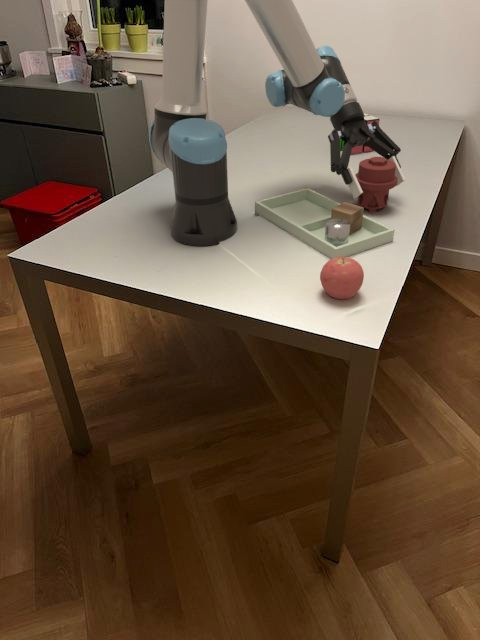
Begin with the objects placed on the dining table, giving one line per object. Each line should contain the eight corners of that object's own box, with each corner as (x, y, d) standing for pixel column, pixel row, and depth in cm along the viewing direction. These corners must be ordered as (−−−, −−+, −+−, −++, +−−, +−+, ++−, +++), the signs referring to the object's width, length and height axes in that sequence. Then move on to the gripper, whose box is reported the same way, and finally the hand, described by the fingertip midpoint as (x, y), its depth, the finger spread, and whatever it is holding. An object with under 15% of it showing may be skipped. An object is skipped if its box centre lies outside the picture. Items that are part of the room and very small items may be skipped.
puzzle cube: (376, 151, 160) (380, 118, 154) (349, 155, 157) (352, 122, 151) (358, 143, 168) (362, 111, 162) (333, 147, 165) (335, 115, 159)
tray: (334, 263, 100) (335, 249, 98) (254, 213, 121) (254, 201, 120) (392, 243, 107) (394, 229, 105) (307, 199, 128) (307, 187, 126)
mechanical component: (391, 202, 125) (393, 219, 117) (351, 200, 127) (350, 216, 119) (399, 153, 118) (401, 167, 110) (356, 151, 119) (355, 165, 112)
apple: (340, 312, 86) (344, 271, 82) (311, 294, 91) (313, 255, 86) (369, 297, 90) (375, 258, 85) (339, 281, 95) (343, 243, 90)
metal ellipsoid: (334, 253, 102) (336, 230, 100) (319, 244, 106) (320, 222, 103) (352, 247, 104) (355, 225, 102) (337, 238, 108) (339, 216, 105)
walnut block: (348, 236, 109) (351, 214, 106) (329, 229, 112) (331, 208, 109) (361, 228, 112) (363, 207, 109) (342, 222, 115) (344, 202, 112)
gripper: (309, 108, 111) (348, 193, 109) (391, 92, 121) (428, 170, 119) (294, 127, 117) (331, 208, 116) (373, 111, 128) (407, 185, 126)
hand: (380, 189), depth 117 cm, fingers open, 13 cm apart
